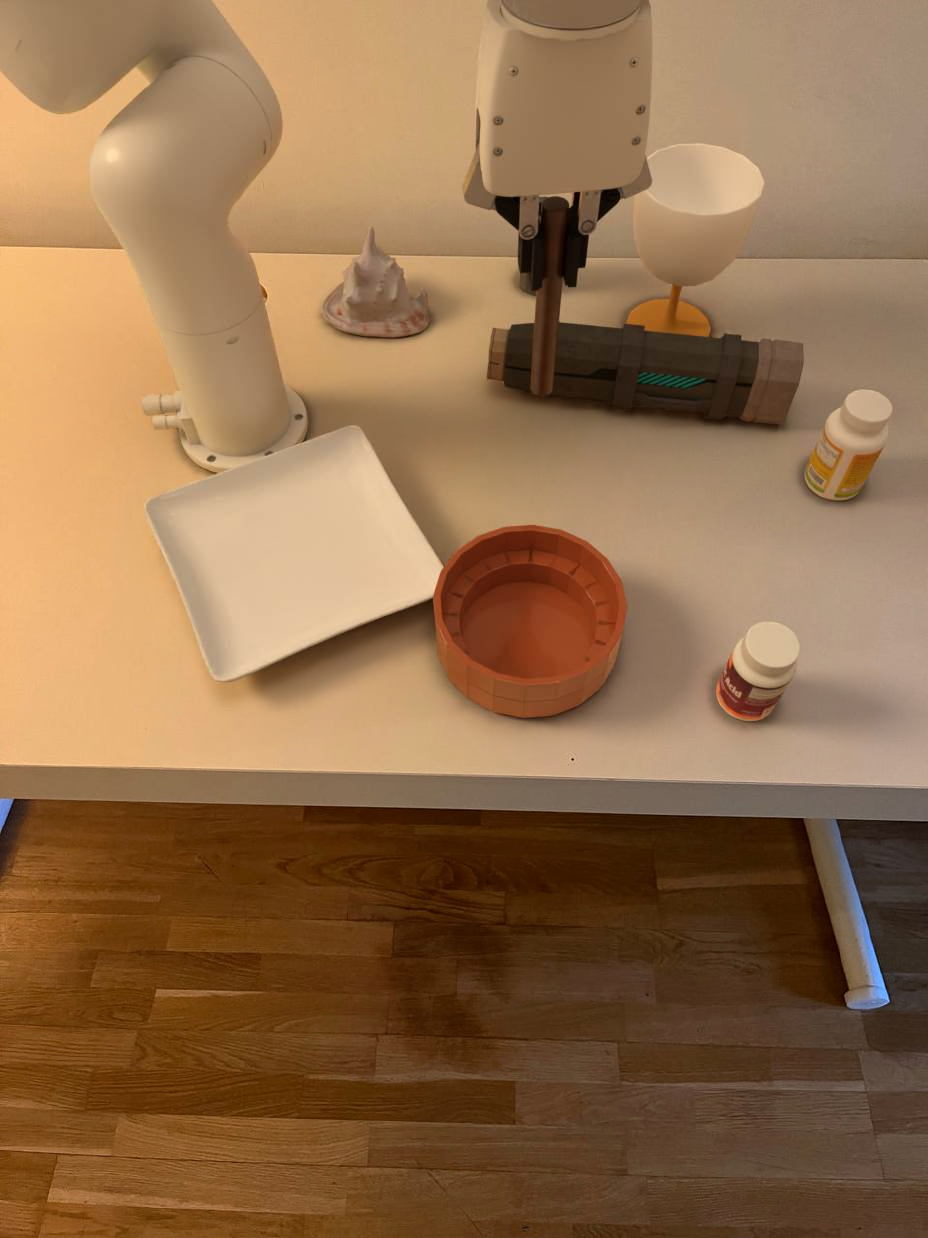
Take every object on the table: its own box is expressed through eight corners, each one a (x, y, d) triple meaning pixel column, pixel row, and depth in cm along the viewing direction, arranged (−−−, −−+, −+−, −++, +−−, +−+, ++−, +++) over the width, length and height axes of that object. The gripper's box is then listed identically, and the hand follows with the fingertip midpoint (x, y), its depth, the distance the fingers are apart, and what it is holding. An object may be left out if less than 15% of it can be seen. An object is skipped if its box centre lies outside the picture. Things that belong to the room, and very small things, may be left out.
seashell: (346, 272, 104) (335, 195, 96) (445, 291, 102) (443, 214, 94) (312, 328, 98) (298, 252, 91) (416, 349, 96) (410, 274, 89)
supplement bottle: (866, 469, 86) (907, 393, 78) (854, 509, 84) (895, 434, 76) (810, 452, 88) (844, 375, 80) (796, 491, 85) (830, 415, 77)
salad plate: (223, 705, 73) (214, 685, 70) (149, 521, 83) (137, 497, 80) (457, 607, 78) (457, 584, 75) (360, 445, 89) (357, 419, 86)
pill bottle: (708, 673, 75) (733, 618, 68) (765, 669, 75) (795, 613, 68) (722, 725, 72) (749, 674, 65) (781, 720, 72) (814, 668, 65)
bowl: (443, 727, 72) (440, 692, 67) (431, 573, 80) (428, 531, 75) (631, 712, 73) (642, 676, 68) (600, 561, 81) (608, 518, 76)
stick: (531, 396, 72) (542, 212, 58) (529, 380, 73) (540, 196, 59) (553, 395, 72) (570, 211, 58) (551, 379, 73) (567, 195, 59)
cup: (616, 288, 101) (639, 138, 87) (722, 296, 100) (763, 146, 86) (610, 359, 95) (634, 210, 81) (723, 369, 94) (768, 220, 80)
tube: (499, 376, 98) (789, 378, 92) (492, 430, 96) (789, 435, 90) (484, 310, 88) (809, 307, 82) (476, 369, 86) (809, 370, 80)
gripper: (700, -63, 50) (649, 235, 66) (418, -44, 50) (433, 253, 65) (737, -1, 46) (673, 301, 62) (430, 22, 45) (443, 321, 61)
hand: (550, 275), depth 63 cm, fingers closed on stick, 1 cm apart
